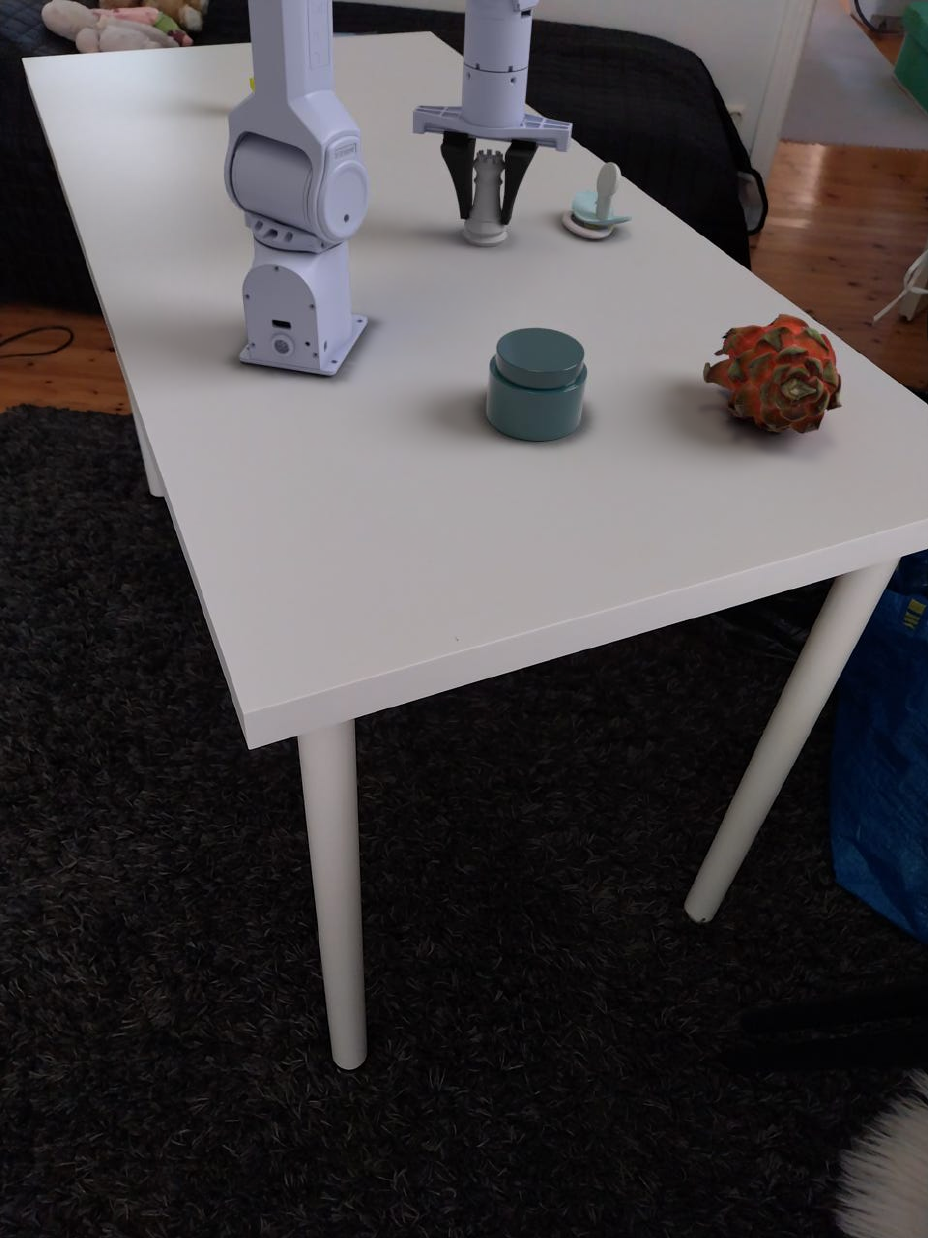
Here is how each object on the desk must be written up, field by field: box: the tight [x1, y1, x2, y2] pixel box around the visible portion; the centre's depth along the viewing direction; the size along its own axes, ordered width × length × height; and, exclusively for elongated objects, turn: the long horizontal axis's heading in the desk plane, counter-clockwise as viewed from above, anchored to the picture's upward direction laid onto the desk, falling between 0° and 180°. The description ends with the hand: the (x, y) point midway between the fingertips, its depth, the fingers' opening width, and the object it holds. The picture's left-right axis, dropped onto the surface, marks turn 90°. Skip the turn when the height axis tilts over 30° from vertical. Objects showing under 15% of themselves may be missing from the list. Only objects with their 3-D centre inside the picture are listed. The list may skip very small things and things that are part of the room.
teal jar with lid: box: [485, 327, 588, 442], centre depth 71 cm, size 7×7×6 cm
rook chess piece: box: [462, 148, 508, 248], centre depth 93 cm, size 4×4×8 cm
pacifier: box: [561, 161, 633, 239], centre depth 96 cm, size 7×6×6 cm
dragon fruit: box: [702, 313, 843, 435], centre depth 72 cm, size 8×8×12 cm
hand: (486, 218), depth 94 cm, fingers closed on rook chess piece, 3 cm apart
